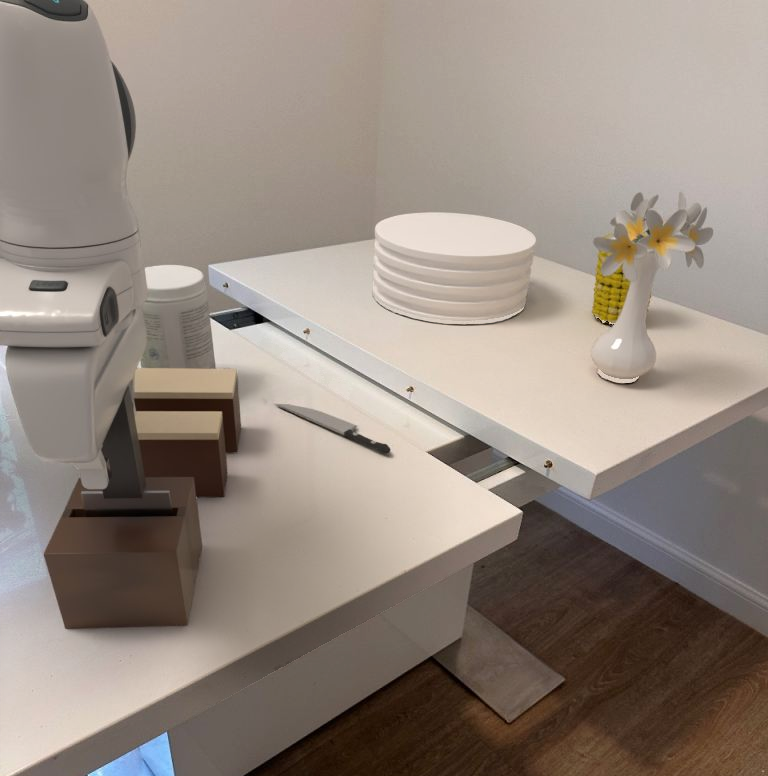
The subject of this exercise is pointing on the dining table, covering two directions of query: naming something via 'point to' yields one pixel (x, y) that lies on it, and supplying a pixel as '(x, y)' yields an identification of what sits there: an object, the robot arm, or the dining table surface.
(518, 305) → the plate stack
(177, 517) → the knife block
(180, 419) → the cake slice
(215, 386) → the cake
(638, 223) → the flower vase
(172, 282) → the supplement tub
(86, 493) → the knife
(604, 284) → the food
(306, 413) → the chef's knife
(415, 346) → the dining table surface
